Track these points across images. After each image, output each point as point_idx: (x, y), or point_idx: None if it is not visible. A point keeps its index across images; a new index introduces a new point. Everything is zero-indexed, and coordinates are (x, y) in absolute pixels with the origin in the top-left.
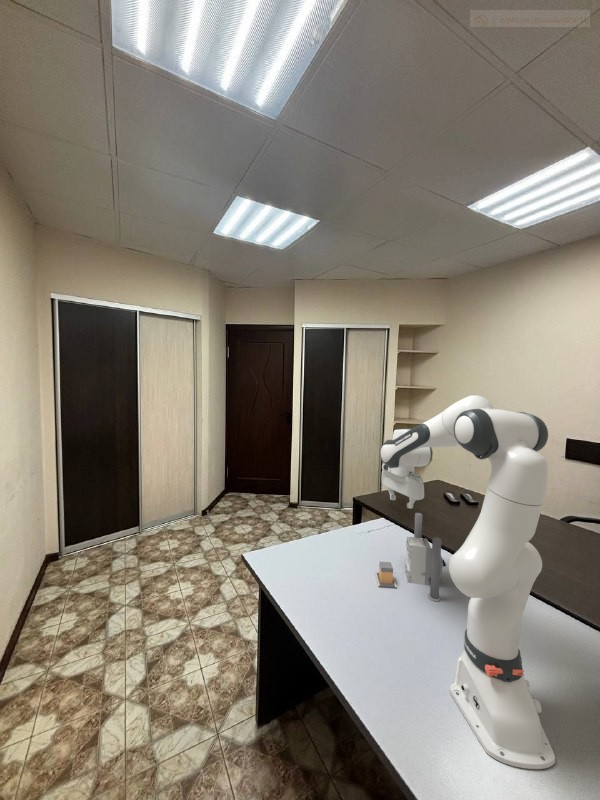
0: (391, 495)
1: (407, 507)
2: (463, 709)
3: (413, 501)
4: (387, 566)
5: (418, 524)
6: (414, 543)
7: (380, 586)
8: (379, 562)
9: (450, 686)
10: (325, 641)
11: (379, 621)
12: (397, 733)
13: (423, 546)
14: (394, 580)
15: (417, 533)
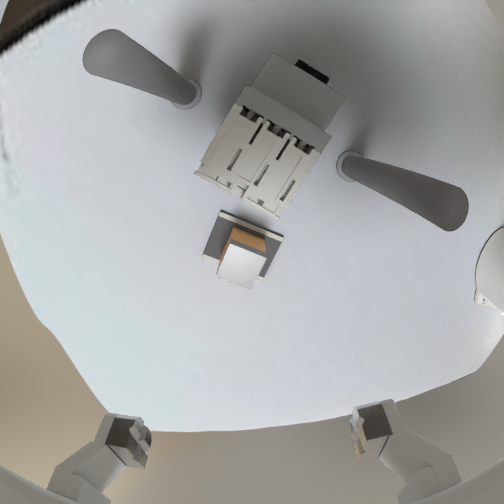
0: (125, 466)
1: (353, 424)
2: (492, 306)
3: (430, 458)
4: (250, 268)
5: (145, 73)
6: (267, 182)
7: (263, 275)
8: (217, 275)
9: (477, 302)
10: (345, 402)
11: (355, 329)
12: (457, 367)
13: (310, 162)
14: (253, 225)
15: (160, 84)
